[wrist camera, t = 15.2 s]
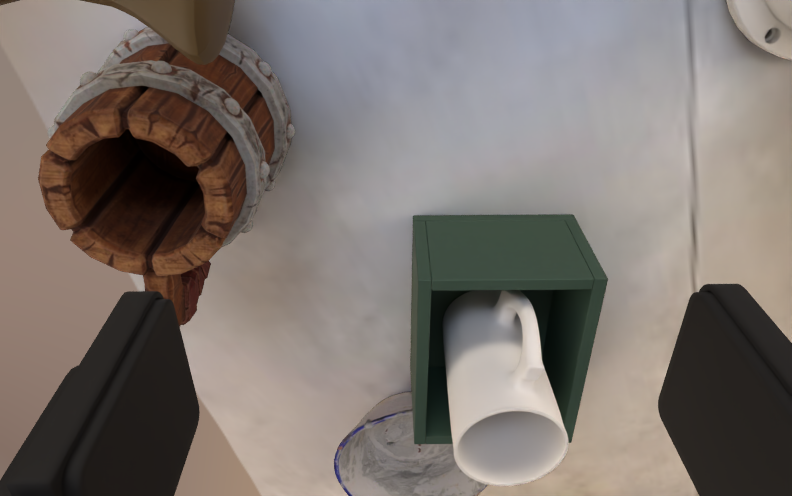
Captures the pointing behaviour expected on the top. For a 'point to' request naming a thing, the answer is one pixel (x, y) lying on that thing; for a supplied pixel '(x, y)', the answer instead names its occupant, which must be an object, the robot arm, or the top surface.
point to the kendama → (181, 23)
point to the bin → (501, 270)
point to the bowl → (397, 458)
